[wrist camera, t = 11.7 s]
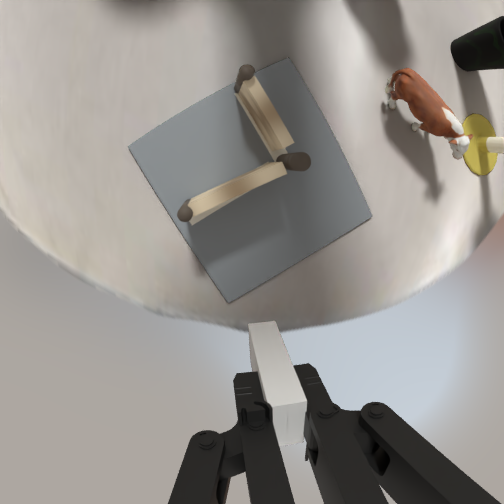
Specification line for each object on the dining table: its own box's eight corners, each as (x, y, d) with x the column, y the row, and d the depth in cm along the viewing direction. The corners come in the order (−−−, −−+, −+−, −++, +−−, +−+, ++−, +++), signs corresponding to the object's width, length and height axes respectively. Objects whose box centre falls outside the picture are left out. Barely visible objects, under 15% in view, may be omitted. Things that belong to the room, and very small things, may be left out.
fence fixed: (230, 86, 31) (234, 68, 24) (244, 79, 31) (252, 59, 24) (280, 172, 35) (298, 175, 28) (294, 165, 35) (314, 165, 28)
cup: (483, 73, 34) (535, 64, 23) (459, 81, 34) (515, 71, 23) (464, 32, 32) (513, 15, 20) (438, 36, 32) (490, 16, 20)
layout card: (128, 146, 32) (127, 146, 32) (287, 58, 31) (288, 57, 31) (228, 301, 39) (228, 303, 38) (371, 215, 38) (372, 216, 37)
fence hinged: (270, 161, 34) (283, 160, 27) (275, 172, 34) (289, 174, 28) (181, 202, 34) (174, 210, 27) (186, 213, 34) (181, 224, 28)
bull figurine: (429, 162, 37) (468, 165, 29) (368, 86, 33) (402, 73, 26) (444, 142, 37) (483, 143, 29) (386, 68, 33) (421, 52, 25)
